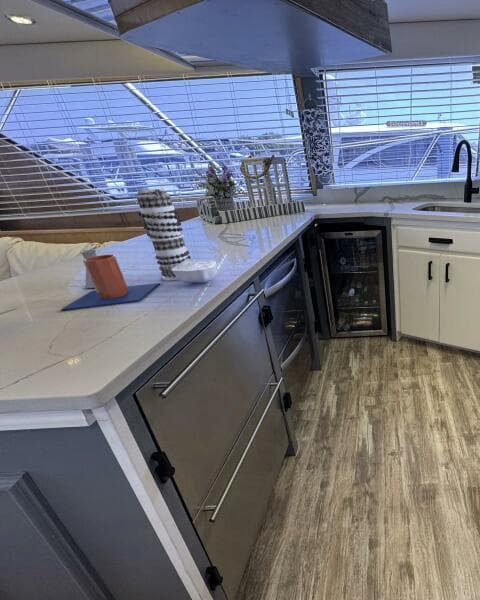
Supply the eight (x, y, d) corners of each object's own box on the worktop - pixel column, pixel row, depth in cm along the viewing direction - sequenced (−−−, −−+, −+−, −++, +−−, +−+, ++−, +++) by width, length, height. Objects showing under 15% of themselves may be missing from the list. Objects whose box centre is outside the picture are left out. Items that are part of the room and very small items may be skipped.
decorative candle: (188, 279, 94) (160, 190, 84) (154, 282, 93) (121, 191, 83) (202, 270, 102) (177, 187, 92) (171, 272, 101) (142, 189, 91)
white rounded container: (200, 290, 85) (193, 265, 83) (168, 286, 89) (160, 263, 86) (230, 277, 94) (224, 255, 91) (199, 274, 98) (193, 253, 95)
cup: (94, 300, 80) (77, 262, 76) (107, 292, 85) (91, 256, 81) (122, 297, 81) (106, 259, 77) (133, 289, 87) (119, 253, 83)
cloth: (61, 310, 76) (60, 309, 76) (93, 291, 88) (92, 290, 87) (139, 301, 80) (138, 299, 80) (159, 284, 91) (159, 282, 91)
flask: (94, 282, 95) (79, 249, 91) (122, 278, 97) (109, 246, 93) (80, 290, 89) (63, 255, 85) (111, 286, 91) (96, 252, 87)
